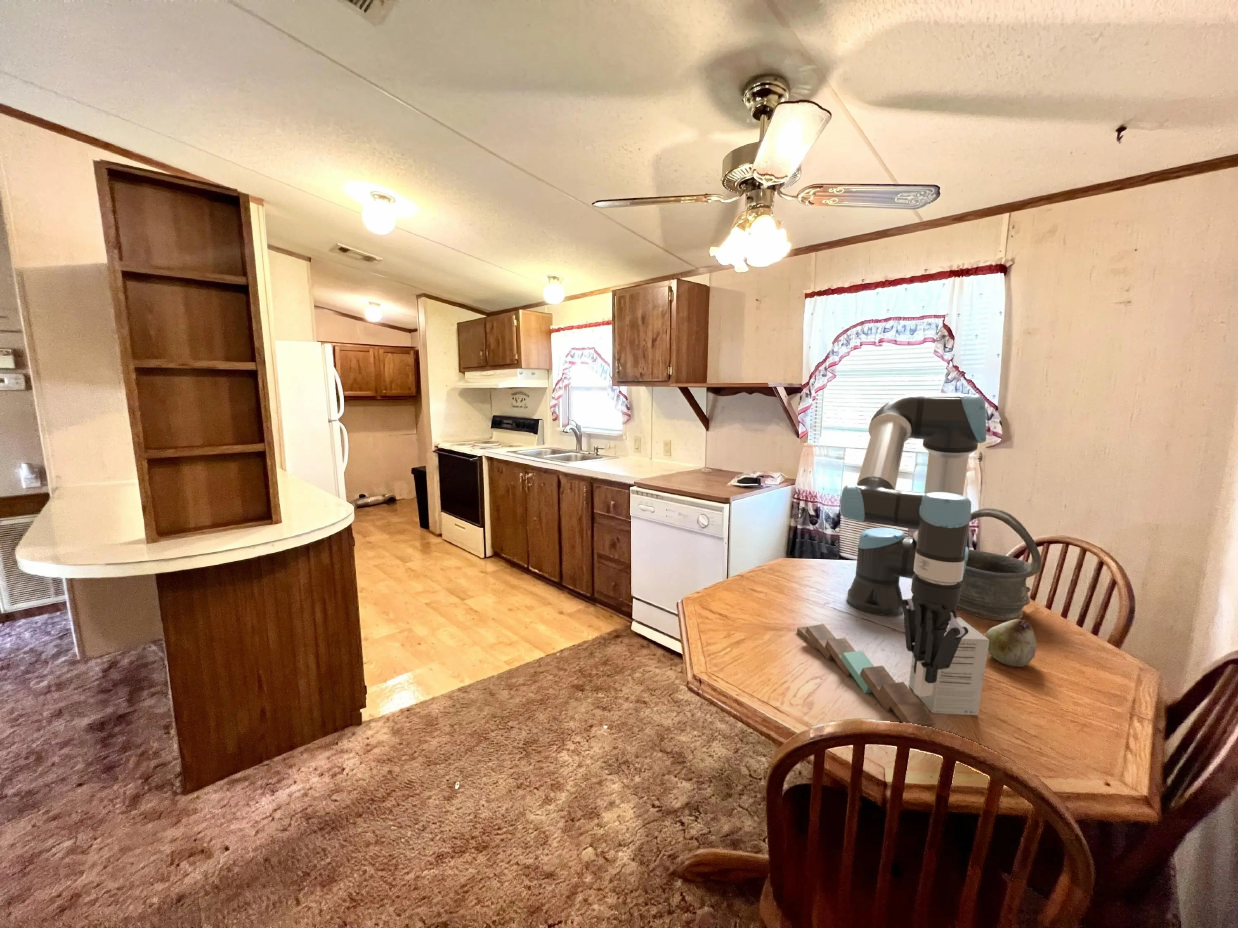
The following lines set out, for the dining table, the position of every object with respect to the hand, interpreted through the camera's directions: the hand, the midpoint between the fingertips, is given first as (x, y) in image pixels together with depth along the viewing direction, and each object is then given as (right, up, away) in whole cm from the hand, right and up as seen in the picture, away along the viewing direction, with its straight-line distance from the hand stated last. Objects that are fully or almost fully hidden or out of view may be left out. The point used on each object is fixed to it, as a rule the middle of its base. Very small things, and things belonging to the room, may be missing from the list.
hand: (922, 693), depth 91 cm
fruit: (+36, -4, +24) cm, 43 cm away
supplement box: (+10, -6, +10) cm, 15 cm away
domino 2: (-5, -2, +24) cm, 25 cm away
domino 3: (-4, -4, +17) cm, 18 cm away
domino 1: (-6, -2, +29) cm, 29 cm away
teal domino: (-3, -5, +12) cm, 13 cm away
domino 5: (0, -7, 0) cm, 7 cm away
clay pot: (+51, +1, +53) cm, 73 cm away
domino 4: (-1, -6, +6) cm, 8 cm away
